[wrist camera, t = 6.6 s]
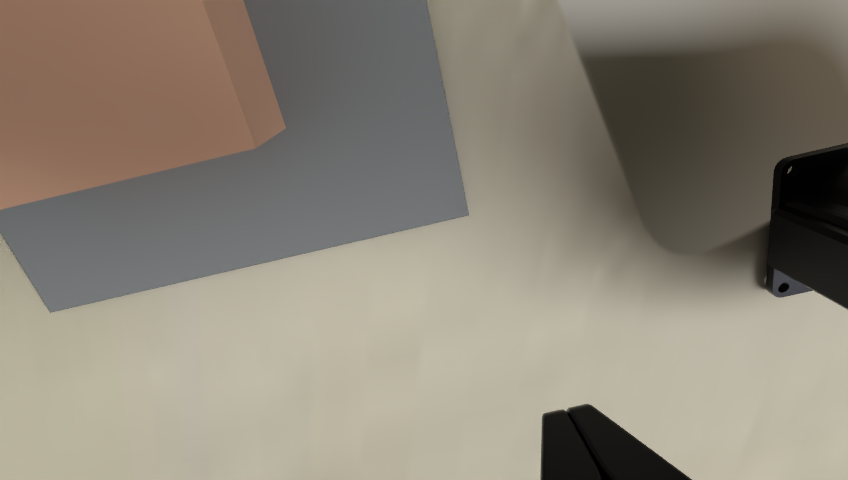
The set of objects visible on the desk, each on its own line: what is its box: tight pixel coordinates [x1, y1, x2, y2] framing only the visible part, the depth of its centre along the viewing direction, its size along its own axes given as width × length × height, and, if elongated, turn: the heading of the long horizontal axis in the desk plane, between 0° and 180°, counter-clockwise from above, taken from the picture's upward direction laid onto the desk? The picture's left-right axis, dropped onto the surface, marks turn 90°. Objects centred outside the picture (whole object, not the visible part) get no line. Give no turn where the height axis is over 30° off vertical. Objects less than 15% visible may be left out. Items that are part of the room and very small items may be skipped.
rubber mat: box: [0, 0, 469, 313], centre depth 16 cm, size 18×16×1 cm
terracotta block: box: [0, 0, 286, 210], centre depth 14 cm, size 4×6×9 cm
